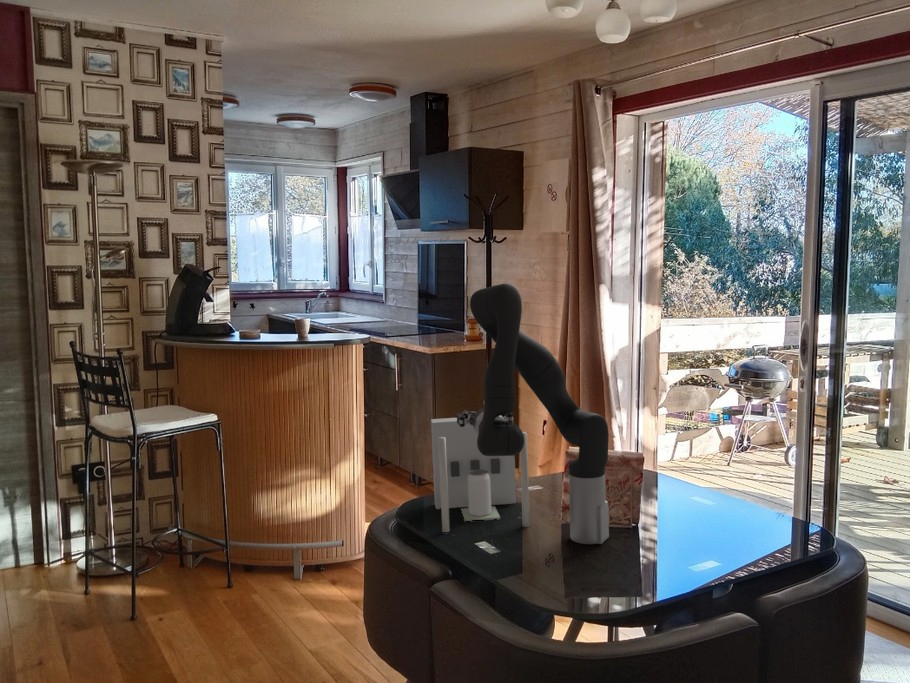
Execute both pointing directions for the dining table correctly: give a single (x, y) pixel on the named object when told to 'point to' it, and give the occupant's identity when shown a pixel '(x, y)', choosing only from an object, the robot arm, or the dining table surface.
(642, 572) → the dining table surface
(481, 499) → the can
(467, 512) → the pad
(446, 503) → the cord posts
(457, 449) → the breaker panel
